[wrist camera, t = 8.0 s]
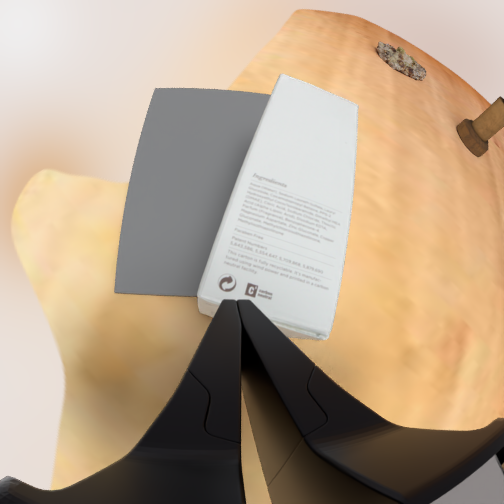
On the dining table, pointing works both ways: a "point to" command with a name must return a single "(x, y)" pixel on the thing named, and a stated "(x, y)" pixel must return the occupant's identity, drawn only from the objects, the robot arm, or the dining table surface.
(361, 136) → the dining table surface
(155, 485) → the robot arm
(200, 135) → the mat
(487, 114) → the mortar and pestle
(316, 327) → the skincare box
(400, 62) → the mineral rock
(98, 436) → the dining table surface
